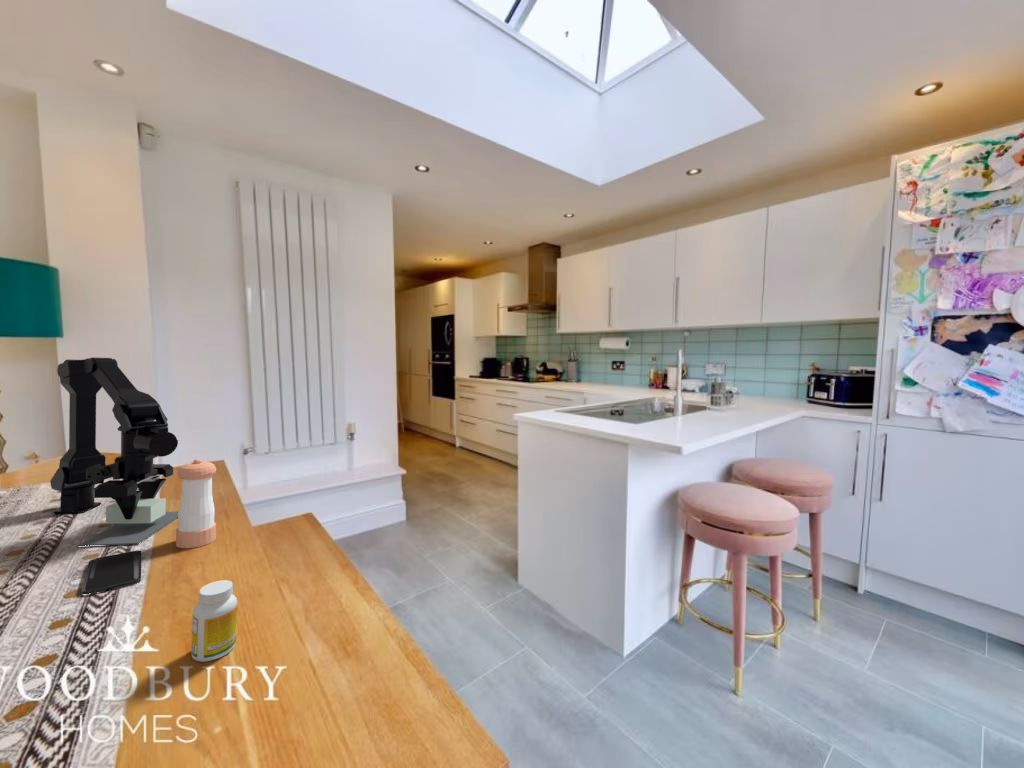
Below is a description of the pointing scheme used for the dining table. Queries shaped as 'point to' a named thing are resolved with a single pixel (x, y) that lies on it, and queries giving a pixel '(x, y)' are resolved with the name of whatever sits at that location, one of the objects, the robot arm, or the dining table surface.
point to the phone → (112, 572)
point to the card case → (137, 512)
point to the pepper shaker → (196, 505)
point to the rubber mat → (130, 532)
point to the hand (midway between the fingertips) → (136, 514)
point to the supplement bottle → (214, 621)
